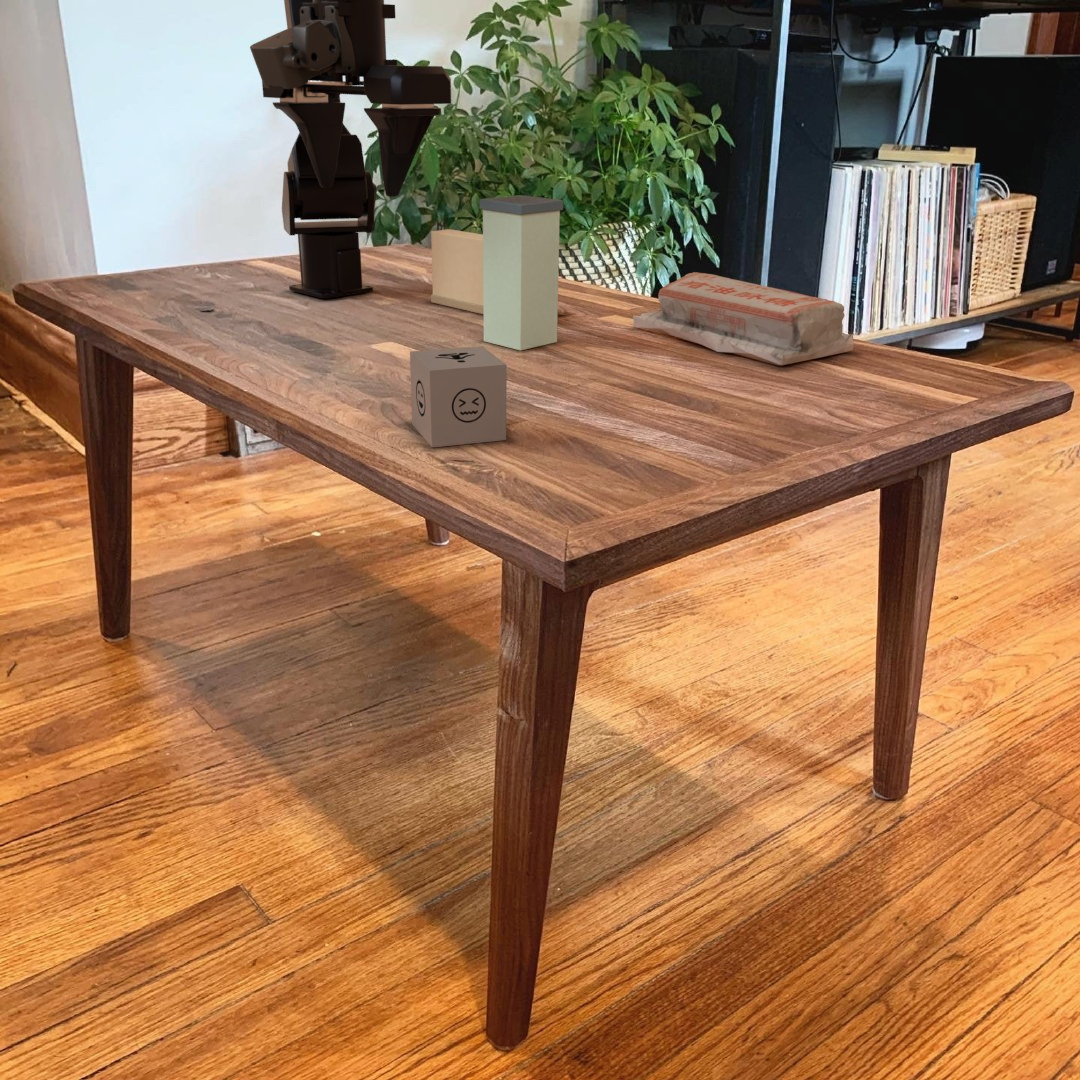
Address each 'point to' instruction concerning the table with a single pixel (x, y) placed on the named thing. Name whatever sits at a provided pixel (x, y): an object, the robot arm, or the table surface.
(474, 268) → the wall
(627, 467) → the table surface
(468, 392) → the dice cube
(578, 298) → the table surface
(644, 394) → the table surface
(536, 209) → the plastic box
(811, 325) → the packaged product
